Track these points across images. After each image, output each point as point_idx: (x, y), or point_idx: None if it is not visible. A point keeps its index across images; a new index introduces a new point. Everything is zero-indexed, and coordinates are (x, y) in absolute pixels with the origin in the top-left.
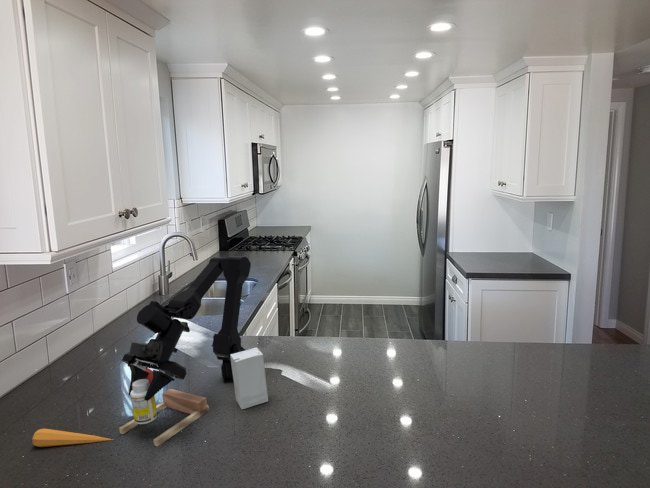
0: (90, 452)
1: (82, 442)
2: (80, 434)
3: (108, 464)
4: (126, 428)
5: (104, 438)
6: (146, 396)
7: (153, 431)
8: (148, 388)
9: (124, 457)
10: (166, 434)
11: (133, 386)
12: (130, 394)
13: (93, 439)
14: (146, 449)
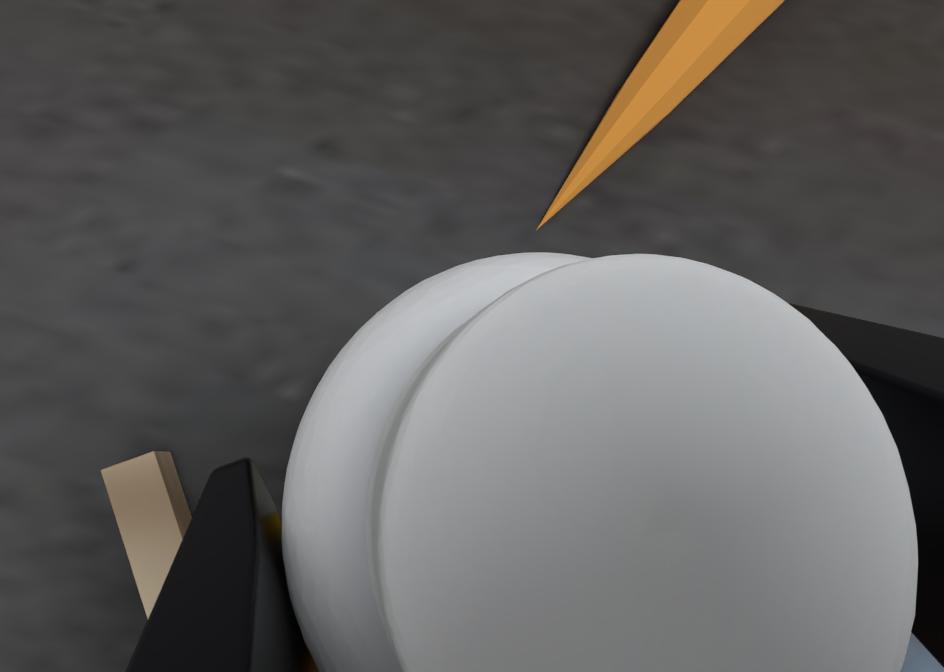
0: (486, 56)
1: (646, 50)
2: (711, 27)
3: (207, 85)
4: None
5: (581, 171)
6: (201, 510)
7: None
8: (241, 658)
9: (200, 201)
10: (143, 595)
11: (588, 265)
12: (583, 258)
13: (615, 102)
14: (162, 375)
